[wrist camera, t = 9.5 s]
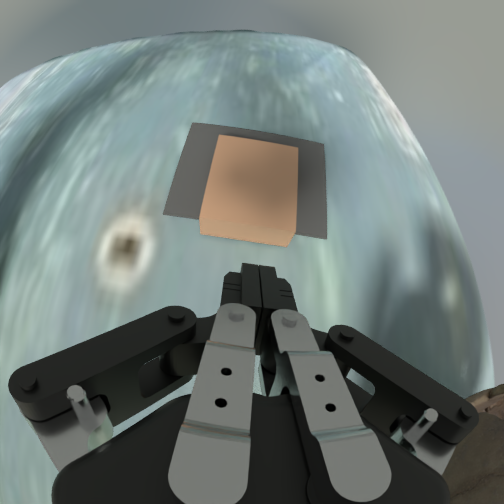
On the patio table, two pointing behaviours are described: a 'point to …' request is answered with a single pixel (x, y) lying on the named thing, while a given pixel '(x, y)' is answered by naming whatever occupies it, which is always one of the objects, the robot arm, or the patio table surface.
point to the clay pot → (480, 454)
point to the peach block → (251, 192)
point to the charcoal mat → (206, 136)
